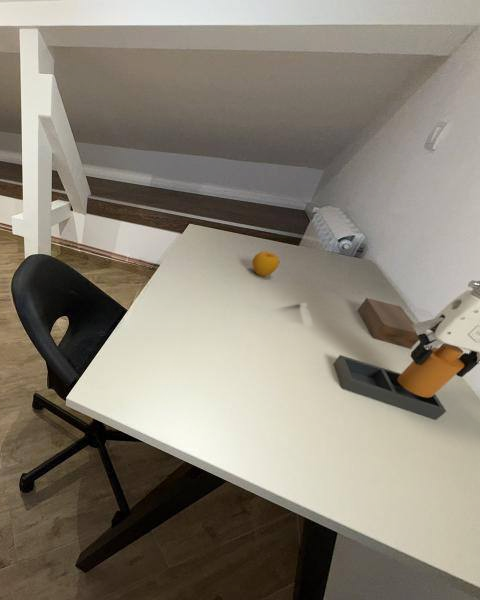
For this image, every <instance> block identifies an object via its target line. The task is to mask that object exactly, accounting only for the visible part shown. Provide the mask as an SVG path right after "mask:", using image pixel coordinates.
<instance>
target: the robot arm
mask: <svg viewBox="0 0 480 600" xmlns="http://www.w3.org/2000/svg"><path fill="white" fill-rule="evenodd" d="M467 286H468V288H470V289H467V290H466V291H464V292H463V293H461V294H460V295H458V296H456V298H454V299H452V301H450V302H449V303H448V304H447V305H446V306H445V307H443V309H442V310H440V312H438V314H436V316H435V317H433V318H432V319H427V320H424V321H420V322H416V323H415V322H414V324H413V325H412V327H413V329H414V331H415V332H416V335H417V337H418V339H419V340H418V341H419V344H417V345H416V347H415V348H414V349H413V350H412V351H411V353H410V357H411V359H412V362H413V361H414V362H415V364H417V365H421V364H422V363H423V362H424V361H425V360H426V359H427V358H428V357H429V356H430V355H431V354H432V353H433V351H432V350H431V349H433V348H437V347H440V346H441V345H442V344H443V343H445V344H448V345H452V346H456V347H459V348H460V349H462V350H467V351H469V353H467V352H463V354H462V355H461V356H459V357H458V358H459V359H460V360H461V361H462V362H463V363H464V367H463V368H462V369H461V370H460V371H459V372H458V373H457V374H456V375H455V376H457V377H461V378H463V377H464V376H465V375H466V374H468V373H469V372H471V371H472V370H473V369H474V368H475V367H476V366H477V365H478V364H479V365H480V280H471V281H470V282H468V284H467ZM471 289H472V290H471ZM428 330H429V331H430V332H429V333H426V331H428Z"/></svg>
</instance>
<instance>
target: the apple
mask: <svg viewBox="0 0 480 600" xmlns="http://www.w3.org/2000/svg"><path fill="white" fill-rule="evenodd" d="M251 262H252V268H253V271H254V272H255V274H256V275H257V276H260V277H264V278H265V277H266V278H267V277H268V276H270V275H271V274H273V273H275V271H276V270H277V269H278V267H279V265H280V258H279V257H278V256H277V255H276V254H275V253H273V252H270V251H261V252H258V253H257V254H255V255H254V257H253V258H252V261H251Z"/></svg>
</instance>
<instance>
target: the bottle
mask: <svg viewBox="0 0 480 600" xmlns="http://www.w3.org/2000/svg"><path fill="white" fill-rule="evenodd" d="M431 350H432V351H433V353H432V354H431V355H430V356H429V357H428V358H427V359H426V360H425V361H424V362H423V363H422V364H421V365H417V364H415V362H414V361H413V360H412V362H411V363H410V364H409V365H408V366H407V367H406V368H405V369H404V370H403V371H402V372H401V373H400V374H401V375H400V376H399V377H398V378H397V380H398V382H399V384H400V385H401V386H402V387H404V388H405V389H406V390H408V391H410V392H412V393H414V394H416V395H418V396H421V397H426V398H429V397H432V396H433V395H434V394H435V395H436V393H438V392H439V391H440V390H441V389H442V388H443V387H444V386H446V384H447V383H449V381H451V380H452V379H453V378H454V377H455V376H457V375H456V374H457V373H458V372H459V371H460V370H461V369H462V368H463V367H464V363H463V362H462V361H461V360H460V359H459V357H460V356H461V355H462V354H464V351H463V350H464V349H462V348H460V347H456V346H452V345H448V344H445V343H443V344H441V345H439V346H438V348H437V347H435V348H433V349H431Z"/></svg>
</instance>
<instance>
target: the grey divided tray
mask: <svg viewBox="0 0 480 600" xmlns="http://www.w3.org/2000/svg"><path fill="white" fill-rule="evenodd" d="M333 367H334V370H335V373H336V376H337V379H338V382H339V385H340V387H341V389H342V390H344V391H348V392H351V393H354V394H357V395H359V396H363V397H366V398H369V399H372V400H375V401H378V402H381V403H384V404H387V405H389V406H392V407H396V408H398V409H401V410H404V411H407V412H410V413H413V414H416V415H419V416H422V417H425V418H428V419H431V420H434V421H437V420H438V419H439V418H440V417H441V416H443V415H444V414H445V413H446V412H447V409H446V408H445V406H444V405H443V403H442V402H441V400H440V399H439V398H438V396H437V395H436V393H435V394H434V395H433V396H432V397H429V398H426V397H421V396H418V395H416V394H414V393H412V392H410V391H408V390H406V389H405V388H404V387H402V386H401V385H400V384H399V382H398V380H397V378H398V377H399V376H400V375H401V374H402V373H400V372H397V371H394V370H390V369H387V368H384V367H380V366H377V365H374V364H370V363H367V362H364V361H361V360H358V359H354V358H351V357H348V356H345V355H343V354H340V355H338V357H337V358H336V360H335V361H334V362H333Z"/></svg>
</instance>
